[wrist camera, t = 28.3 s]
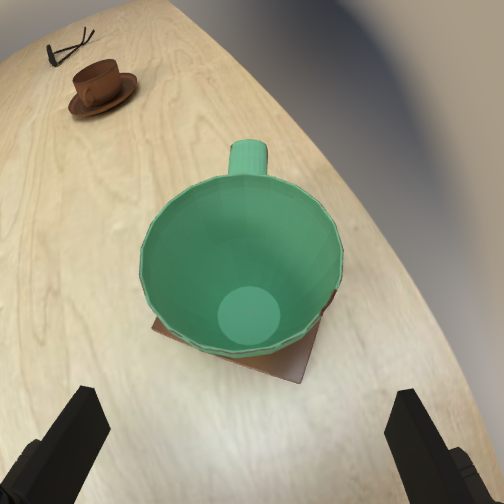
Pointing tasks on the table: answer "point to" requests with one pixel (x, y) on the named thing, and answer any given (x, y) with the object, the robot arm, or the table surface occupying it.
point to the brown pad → (269, 355)
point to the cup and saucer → (100, 88)
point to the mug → (241, 260)
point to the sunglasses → (51, 54)
